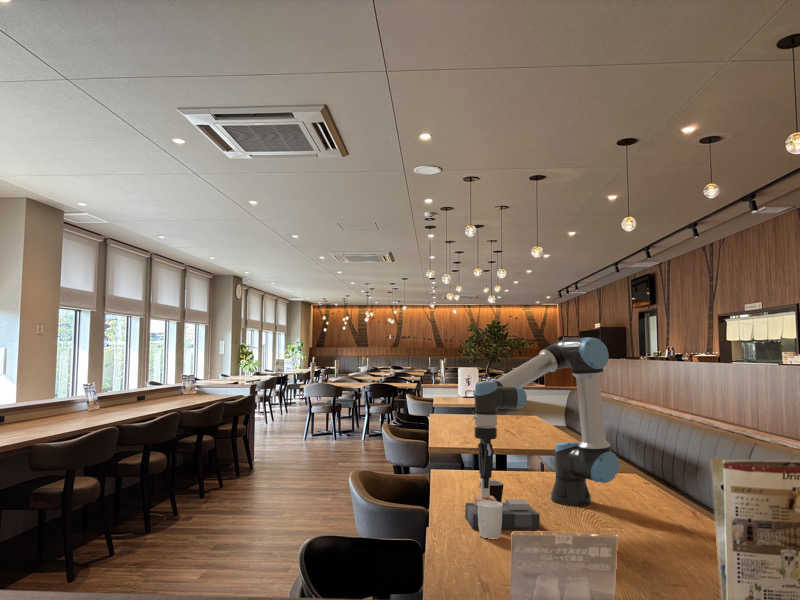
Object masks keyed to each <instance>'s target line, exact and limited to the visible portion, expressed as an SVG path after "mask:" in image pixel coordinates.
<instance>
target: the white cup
mask: <svg viewBox="0 0 800 600" xmlns="http://www.w3.org/2000/svg"><path fill="white" fill-rule="evenodd" d="M502 503H503V502H501V503H500V502H496V501H479V502H478V503H477V504H478V527H479V530H478V536H479V535H480V536H481V537H485V538H499V537H502V530H501V528H502V511H503V504H502ZM480 536H479V537H480ZM481 537H480V538H481ZM499 539H500V538H499Z"/></svg>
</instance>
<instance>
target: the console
mask: <svg viewBox="0 0 800 600" xmlns="http://www.w3.org/2000/svg"><path fill="white" fill-rule="evenodd" d="M501 503H502V504H503V511H502V528H501V531H540V530H541V527H540V525H541V523H540V522H541V519H540V517H541V516H540V513H539V512H538V511H537V510H535V509H534V508H533V507H532V506H530V505H529V510H525V511H511V510H510V509H509V508H508V507H507V506H506V502H505V503H503V502H501ZM464 505H465V507H464V509H465V511H464V512H465V514H464V515H465V516H464V518H465V520H466V521H467V523H468V524H469V526H470V527H471V529H472V530H473V529H479V527H478V506H477V505H476V503H475V502H465V504H464Z"/></svg>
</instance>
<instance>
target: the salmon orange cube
mask: <svg viewBox="0 0 800 600" xmlns="http://www.w3.org/2000/svg"><path fill="white" fill-rule="evenodd" d="M479 501H496V502H497V500H496V499H495V498H494V497H493V496H490V498H481V495H473V503H476V505H477V506H478V504H477V503H478V502H479Z"/></svg>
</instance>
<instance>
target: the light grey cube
mask: <svg viewBox="0 0 800 600" xmlns="http://www.w3.org/2000/svg"><path fill="white" fill-rule="evenodd" d="M505 503H506V506H507V507H508V508H509V509H510V510H511V511H525V510H529V506H530V504H529V502H528V501H526V500H525V499H517V498H515V499H514V498H513V499H509V498H507V499H505Z"/></svg>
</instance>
